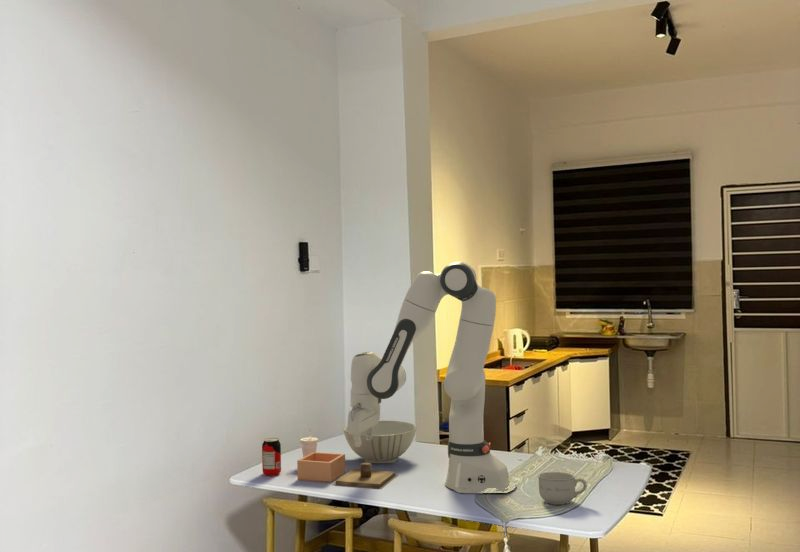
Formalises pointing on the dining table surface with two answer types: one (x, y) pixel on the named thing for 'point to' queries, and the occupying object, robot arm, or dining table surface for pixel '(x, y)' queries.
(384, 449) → the decorative bowl
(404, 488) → the dining table surface
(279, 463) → the beverage can
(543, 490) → the teacup
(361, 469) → the walnut lid
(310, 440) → the smoothie
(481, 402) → the robot arm
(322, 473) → the terracotta open box
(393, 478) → the rubber mat
